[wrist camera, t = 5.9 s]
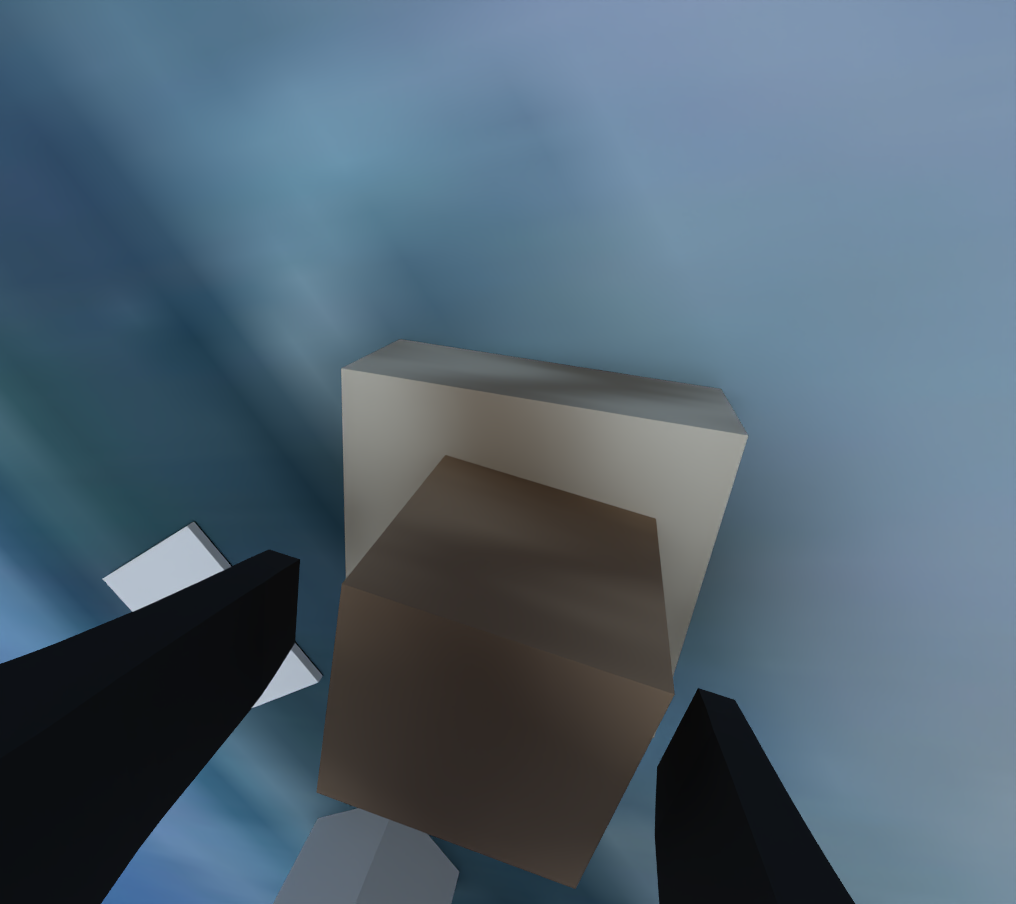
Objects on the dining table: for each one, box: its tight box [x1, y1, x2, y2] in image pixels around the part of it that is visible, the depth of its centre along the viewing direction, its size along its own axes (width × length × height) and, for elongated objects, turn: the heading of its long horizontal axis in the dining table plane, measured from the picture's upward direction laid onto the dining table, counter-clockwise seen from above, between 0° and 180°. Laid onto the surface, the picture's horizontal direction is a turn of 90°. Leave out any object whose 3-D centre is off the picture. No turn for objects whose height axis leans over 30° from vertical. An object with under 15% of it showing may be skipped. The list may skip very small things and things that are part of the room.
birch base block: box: [341, 339, 748, 738], centre depth 14 cm, size 8×8×4 cm
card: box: [103, 522, 322, 708], centre depth 19 cm, size 7×5×1 cm
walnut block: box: [317, 455, 674, 889], centre depth 10 cm, size 4×4×4 cm
